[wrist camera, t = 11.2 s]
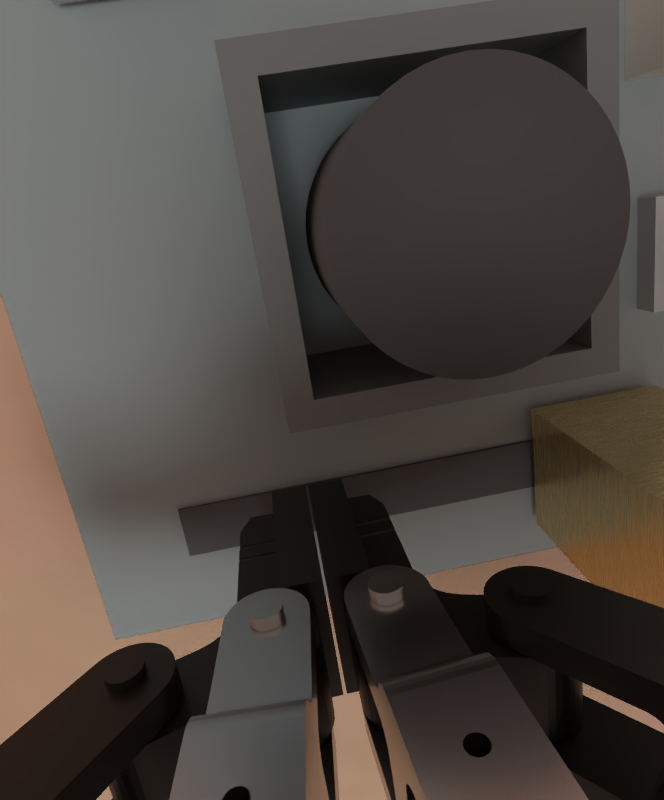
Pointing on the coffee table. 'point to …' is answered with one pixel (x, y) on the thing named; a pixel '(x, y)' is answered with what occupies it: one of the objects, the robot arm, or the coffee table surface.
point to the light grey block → (64, 1)
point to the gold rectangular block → (605, 487)
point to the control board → (274, 278)
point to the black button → (472, 214)
